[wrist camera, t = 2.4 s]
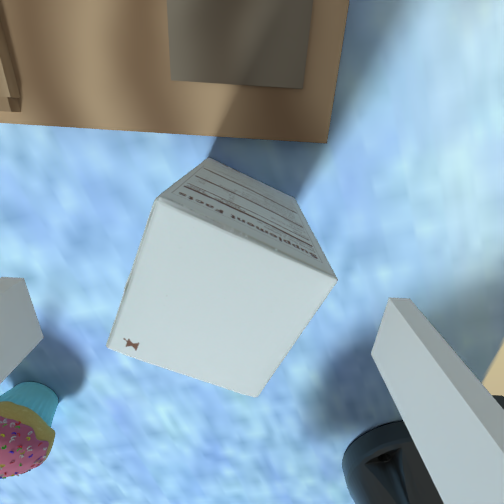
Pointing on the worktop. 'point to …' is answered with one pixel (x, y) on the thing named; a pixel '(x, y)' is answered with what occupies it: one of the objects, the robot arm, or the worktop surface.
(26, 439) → the cupcake
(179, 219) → the supplement box
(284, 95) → the board
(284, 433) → the worktop surface
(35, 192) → the worktop surface
